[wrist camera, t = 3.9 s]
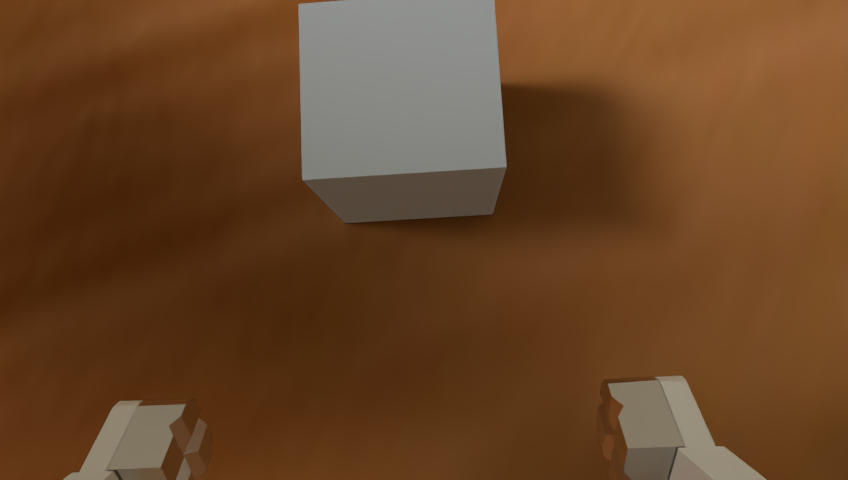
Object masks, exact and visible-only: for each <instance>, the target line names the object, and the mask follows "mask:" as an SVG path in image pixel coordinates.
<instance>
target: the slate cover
mask: <svg viewBox="0 0 848 480" xmlns="http://www.w3.org/2000/svg"><path fill="white" fill-rule="evenodd" d="M298 5H299V53H300V102H301V150H302V181H303V182H304V183H305V184H306V185H307V186H308V187H309V188H310V189H311V190H312V191H313V192H314V193H315V194H316V195H317V196H318V197H319V198H320V199H321V200H322V201H323V202H324V203H325V204H326V205H327V206H328V207H329V208H330V209H331V210H332V211H333V212H334V213H335V214H336V215H337V216H338V217H339V218H340V219H341V220H342V221H343V222H344V223H359V222H375V221H392V220H408V219H425V218H441V217H458V216H475V215H491V214H493V212H494V208H495V205H496V202H497V198H498V195H499V192H500V188H501V185H502V181H503V178H504V175H505V171H506V168H507V164H506V151H505V137H504V124H503V110H502V97H501V84H500V70H499V57H498V44H497V30H496V17H495V3H494V0H343V1H330V2H317V3H304V4H298Z"/></svg>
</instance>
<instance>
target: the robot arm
mask: <svg viewBox="0 0 848 480" xmlns="http://www.w3.org/2000/svg"><path fill="white" fill-rule="evenodd" d="M600 393H601V397H602V400H603V403H602V404H601V405H600V406H599V407H598V412H597V432H598V438H599V443H600V447H601V451H602V455H603V456H604V457H606V458H607V459H608V460H609V461H610V464H609V471H608V478H609V480H767V479H765V478H764V477H763V476H761V475H760V474H759V473H758V472H756V471H755V470H754V469H753V468H751V467H750V466H749V465H747V464H746V463H745V462H744V461H742V460H741V459H740V458H739V457H737V456H736V455H735V454H733V453H732V452H731V451H730V450H728V449H727V448H726V447H724V446H716V445H715V443H714V441H713V438H712V436H711V434H710V432H709V429H708V427H707V425H706V423H705V421H704V418H703V416H702V414H701V412H700V409H699V407H698V405H697V403H696V401H695V398H694V396H693V394H692V392H691V390H690V387H689V385H688V383H687V381H686V379H685V378H684V377H683V376H662V377H636V378H619V379H604V380H603V382H602V384H601V390H600ZM200 412H201V409H200V407H199V405H198V403H197V401H196V399H172V400H133V401H119V402H118V403H117V404H116V405H115V406H114V407H113V408H112V409H111V411H110V413H109V415H108V417H107V419H106V421H105V423H104V425H103V427H102V429H101V431H100V433H99V434H98V436H97V438H96V440H95V442H94V444H93V446H92V448H91V450H90V452H89V454H88V456H87V458H86V460H85V462H84V464H83V465H82V467H81V469H80V471H79V472H73V473H71V474H69V475H68V476H67V477H66V478H65V479H63V480H198V479H199V478H200V477H201V476H202V475H203V474H204V473H205V472H206V471H207V469H208V466H209V463H210V459H211V452H212V437H211V432H210V429H209V427H208V424H206V423H205V422H203V421H202V420H200V419H199V415H200Z"/></svg>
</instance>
